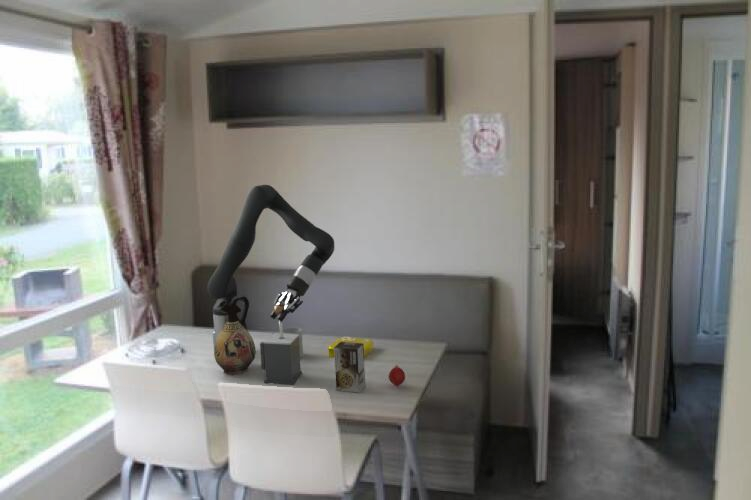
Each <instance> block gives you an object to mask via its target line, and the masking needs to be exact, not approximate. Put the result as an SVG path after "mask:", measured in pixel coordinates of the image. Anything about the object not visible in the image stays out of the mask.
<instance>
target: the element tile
mask: <svg viewBox="0 0 751 500" xmlns="http://www.w3.org/2000/svg"><path fill="white" fill-rule="evenodd" d="M340 342H350V343H363V345H364V359H365V358H366V357H367V356H368V355H369V354H370V353H371V352H372V351H373V350H374V341H373V339H371V338H361V337H351V336H341V337H339V338H338V339H336V340H335V341H334V342H333V343H331V344H330V345H329V346H328V357H330V358H334V359H335V356H334V347H335V346H336V345H337V344H338V343H340Z"/></svg>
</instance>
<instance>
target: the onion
mask: <svg viewBox="0 0 751 500" xmlns="http://www.w3.org/2000/svg"><path fill="white" fill-rule="evenodd" d="M388 380H389V382H390V383H391V384H393V385H394V386H395V387H396V386H398V387H400V386H401V385H402V384H403V383H404V382H405V380H406V373H405V371H404V370H403V369H402V368H401V367H399V365H397V364H396V365H395V366H394V367H392V369H391V370H390V371H389V373H388Z"/></svg>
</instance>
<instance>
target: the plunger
mask: <svg viewBox="0 0 751 500" xmlns="http://www.w3.org/2000/svg"><path fill="white" fill-rule="evenodd" d="M284 307H285V305H282V304H280V305H275V306H274V305H273V310H274V314H275V315H277V316H279V314H280V313H281V311H282V310H283V309H284ZM283 327H284V326H283V321H282V322H281V321H279V320H278V330H279V332H278V333H280V339H283V329H284V328H283Z"/></svg>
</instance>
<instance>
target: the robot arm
mask: <svg viewBox="0 0 751 500" xmlns="http://www.w3.org/2000/svg"><path fill="white" fill-rule="evenodd" d="M266 209H268V210H271V211H273V212H274V213H275V214H277V215H278V216H279V217H280V219H282V221H284V223H285V224H286V226H287V227H288V229H289V230H290V231H292V232H293V233H294V234H295V235H296V236H297V237H299V238H300V239H301V240H303V241H305V242H309V243H311V245H314V249H313V250H312V252H311V253H310V254H308V255H307V256H306V257H305V258H304V259H303V261H302V262H301V264H300V265H299V267H298V268H297V269H296V270H295V271H294V273H293V274H292V276H291V277H290V279H289V280H288V282H287V283H286V289H285V290H284V291H283V292H281V291H278V292H277V294H276V296H275V298H274V301H273V304H272V305H273V307H274V306H275V305H280V304H282V305H285V307H284V309H283V310H282V311H281V313H280V314H279V315H275V314H274V309H273V310H272V312H271V313H270V315H269V316H270V317H271V319H273V320H276V319H277V321H278V322H279V321H281V322H282V323H283V321H284V320H285V318H286V317H287V315H288V314H290V313H291V314H294V312H295V311H297V309H298V308H299V307H300V306H301V305H302V304H303V303H304V300H302V299H301V297H304V295H306V293H307V292H308V290H309V288H310V287H311V286H312V284H313V282H314V280H315V278H316V277H317V275H318V273H319V272H320V271H321V269H322V267H323V266H324V264H326V263H327V261H329V259H330V258H331V257H332V255H333V254H334V251H335V239H334V238H333V236H332V235H331V234H329V233H328V232H327V231H326V230H323V229H322V228H319V227H318V226H316V225H314V223H312V222H311V221H310V220H308V219H307V218H306V217H304V216H303V215H302V214H301V213H299V212H298V211H297V210H296V209H295V208H294V207H292V206H291V205H290V204H289V202H287V201H286V199H284V197H283V196H282V195H281V194H280V193H279V192H278V191H277V189H275V187H273V186H271V185H270V184H258V185H255V186H253V187H252V188H250V189H249V191H248V193H247V195H246V198H245V201H244V204H243V207H242V211H241V213H240V215H239V218H238V220H237V223H236V225H235V226H234V229H233V231H232V233H231V235H230V237H229V239H228V242H227V245H226V247H225V249H224V251H223V253H222V255H221V258H220V260H219V263H218V265H217V267H216V269H215V270H214V272H213V274H212V275H211V276H210V279H209V280H208V283H207V288H206V289H207V293H208V295H209V297H210V298H212V299H215V300H216V301H215V303H214V305H213V307H212V315H213V316H212V317H213V329H214V330H213V331H212V343H213V344H212V345H213V351H214V350H215V344H216V340H217V338H218V336H219V334H220V332H221V330H222V328H223V327H224V325H225V324H226V322H227V320H228V315H227V314H226V313H223V312H218V311H216V309H217V306H218V305H219V304H220V303H221V302H222V301H223V300H225V301H226V302H227V303H229V304H230V303H231V301H232V299H233V298H234V297H235V296H238V285H237V281H236V278H235V277H234V274H235V272H236V271H237V270H238V268H239V267H240V266H241V265H242V264H243V263H244V261H245V260H246V258H248V255H249V254H250V252H251V249H252V247H253V245H254V243H255V241H256V234H257V233H256V229H257V228H256V227H257V224H258V221H259V218H260V216H261V214H262V213H263V212H264V210H266ZM235 305H237V306H238V301H237V302H236V303H235Z"/></svg>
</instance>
